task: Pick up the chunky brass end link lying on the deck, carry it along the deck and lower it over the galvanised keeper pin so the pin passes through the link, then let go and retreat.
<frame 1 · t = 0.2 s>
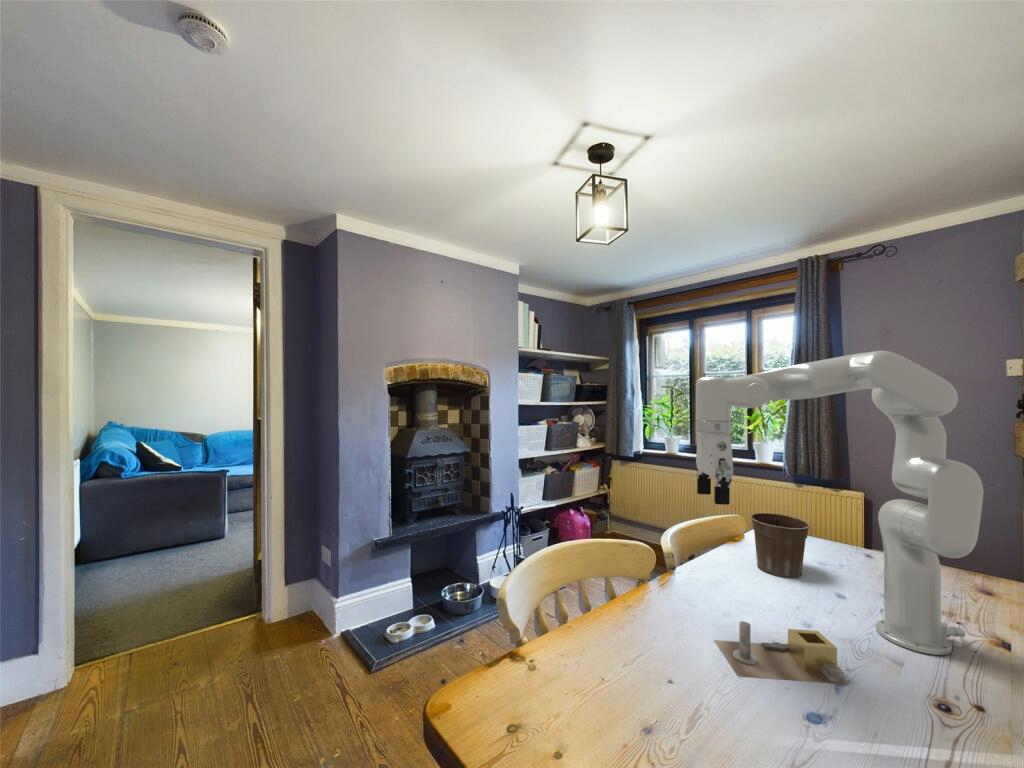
hand: (712, 498, 101), 31 cm above the table, fingers open, 9 cm apart
plant pot: (779, 571, 134), on the table
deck: (775, 666, 86), on the table
end link: (811, 662, 86), point 1 cm above the table, touching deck
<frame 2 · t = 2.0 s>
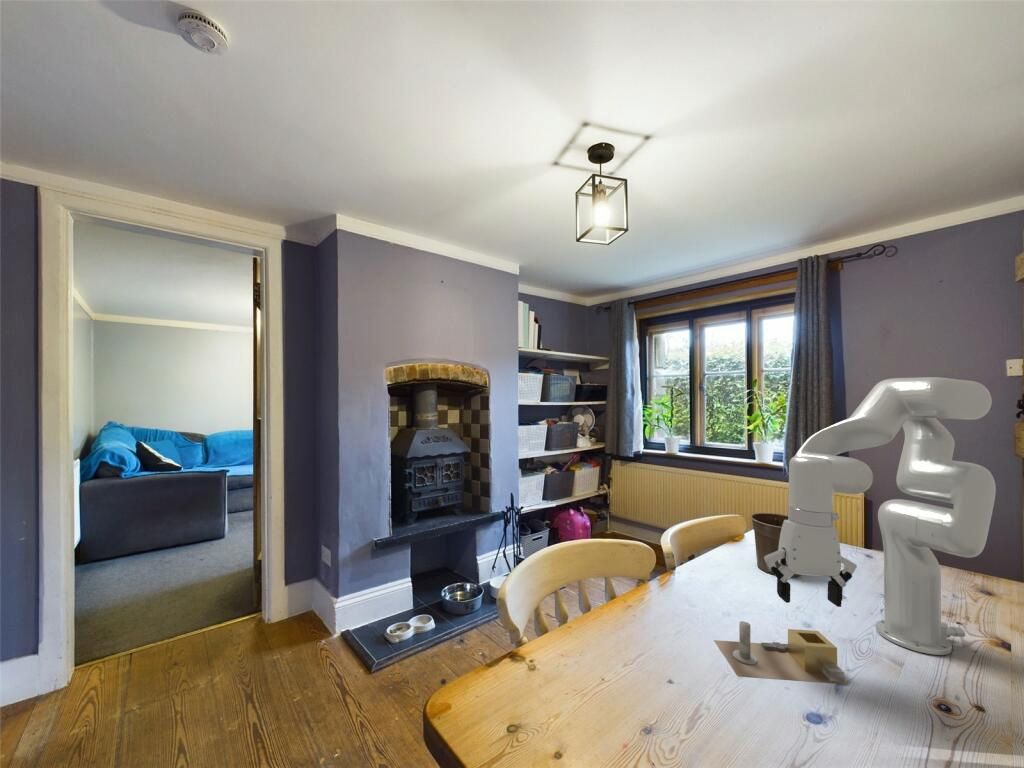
hand: (809, 601, 86), 14 cm above the table, fingers open, 9 cm apart
nothing on the table moved.
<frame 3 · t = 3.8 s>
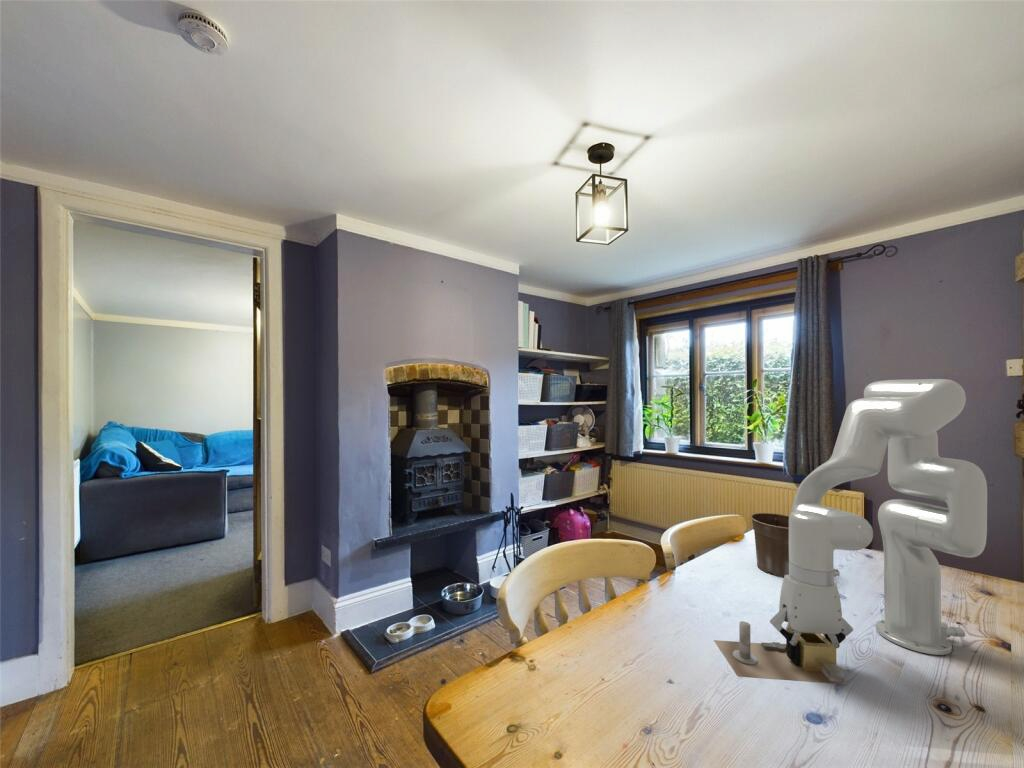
hand: (810, 662, 85), 1 cm above the table, fingers closed on end link, 6 cm apart
end link: (810, 662, 86), point 1 cm above the table, touching gripper
everything else where it was.
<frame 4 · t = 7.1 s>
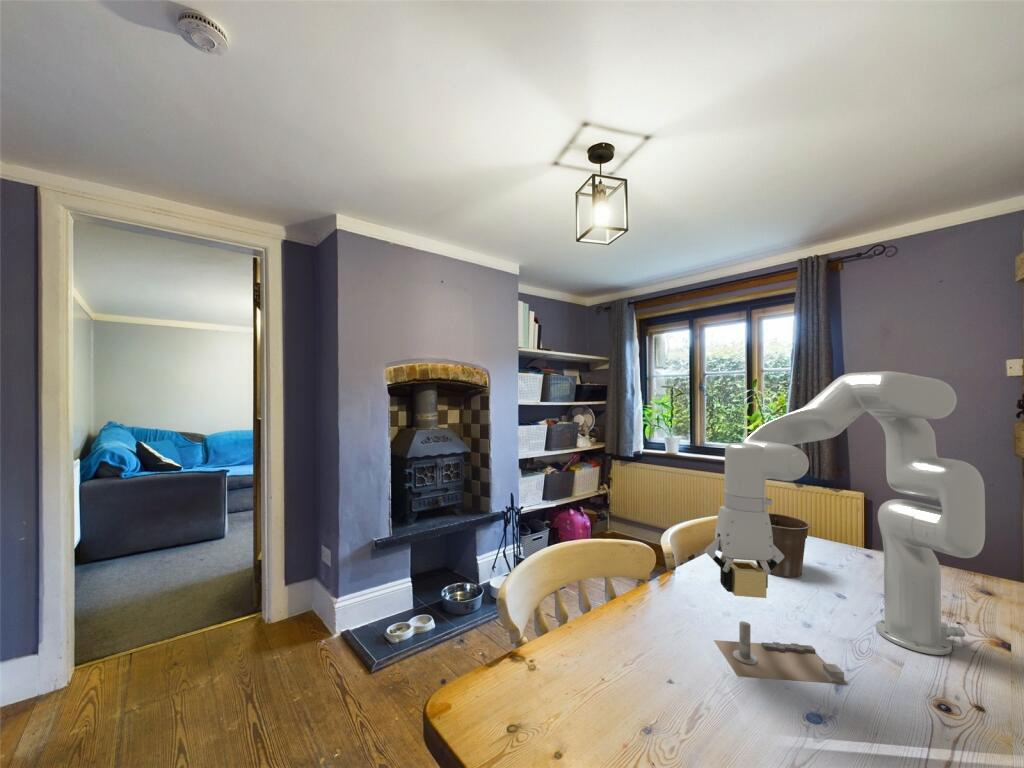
hand: (743, 589, 87), 15 cm above the table, fingers closed on end link, 6 cm apart
end link: (743, 590, 87), point 15 cm above the table, touching gripper
everything else where it was.
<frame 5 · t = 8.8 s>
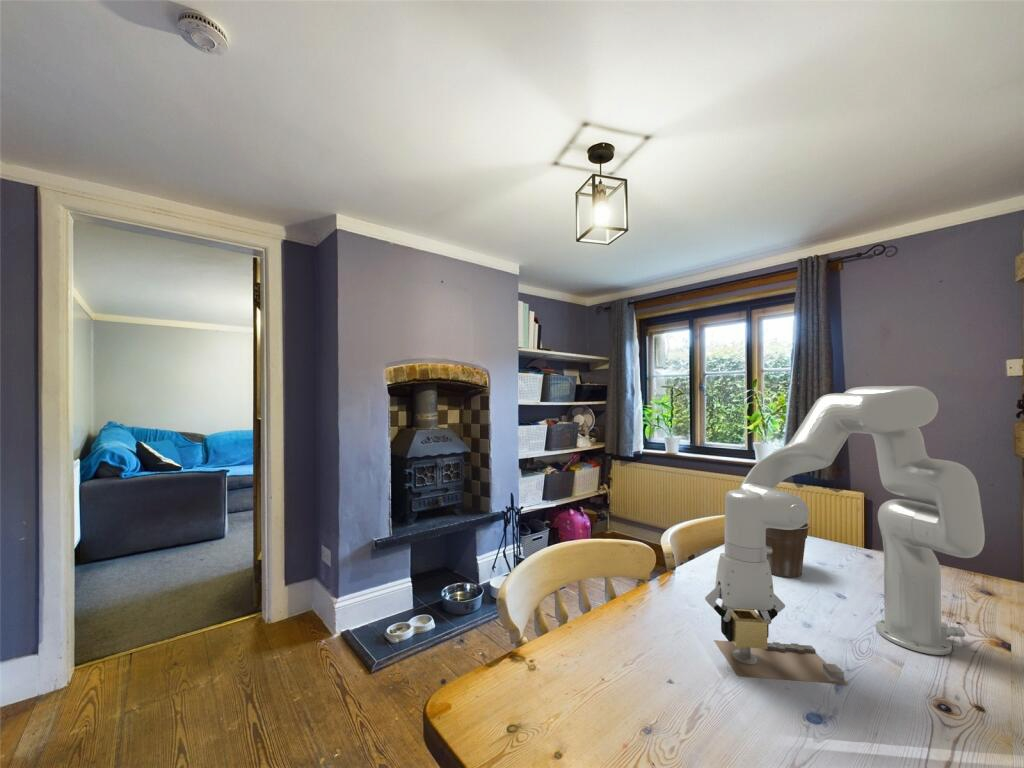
hand: (744, 638, 87), 5 cm above the table, fingers closed on end link, 6 cm apart
end link: (744, 639, 87), point 5 cm above the table, touching gripper
everything else where it was.
when the fingers open (2 cm above the table, at t = 10.3 s): end link stays where it is, resting on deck.
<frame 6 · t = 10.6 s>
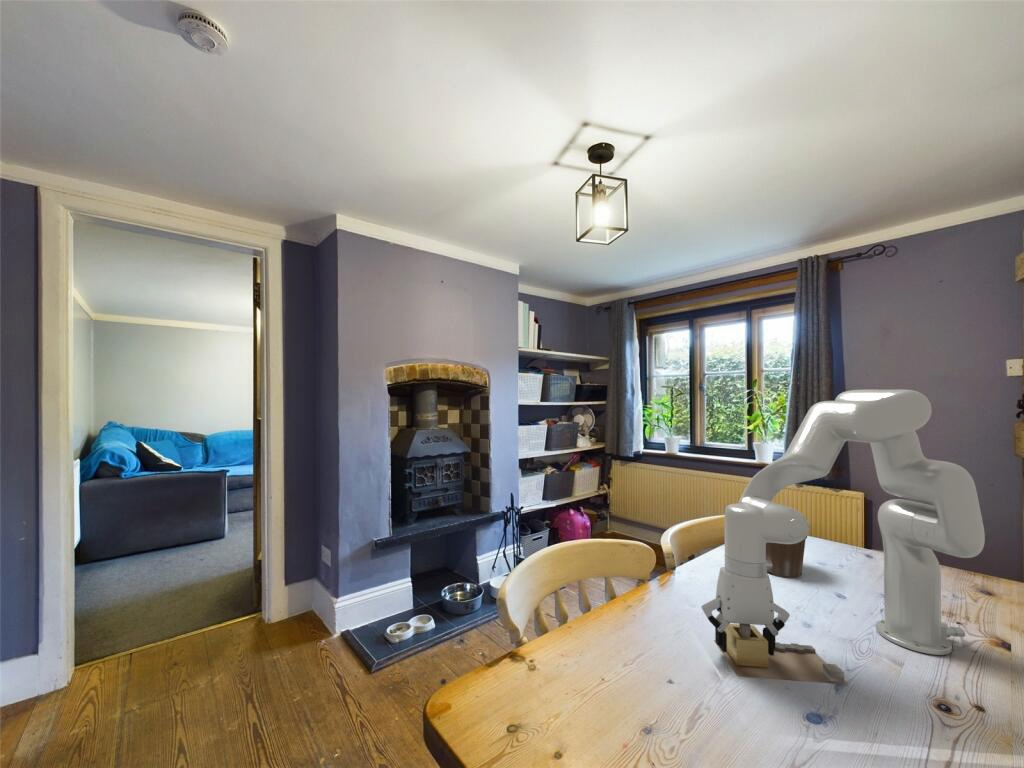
hand: (744, 649, 87), 3 cm above the table, fingers open, 8 cm apart
end link: (745, 656, 87), point 2 cm above the table, touching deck
everything else where it was.
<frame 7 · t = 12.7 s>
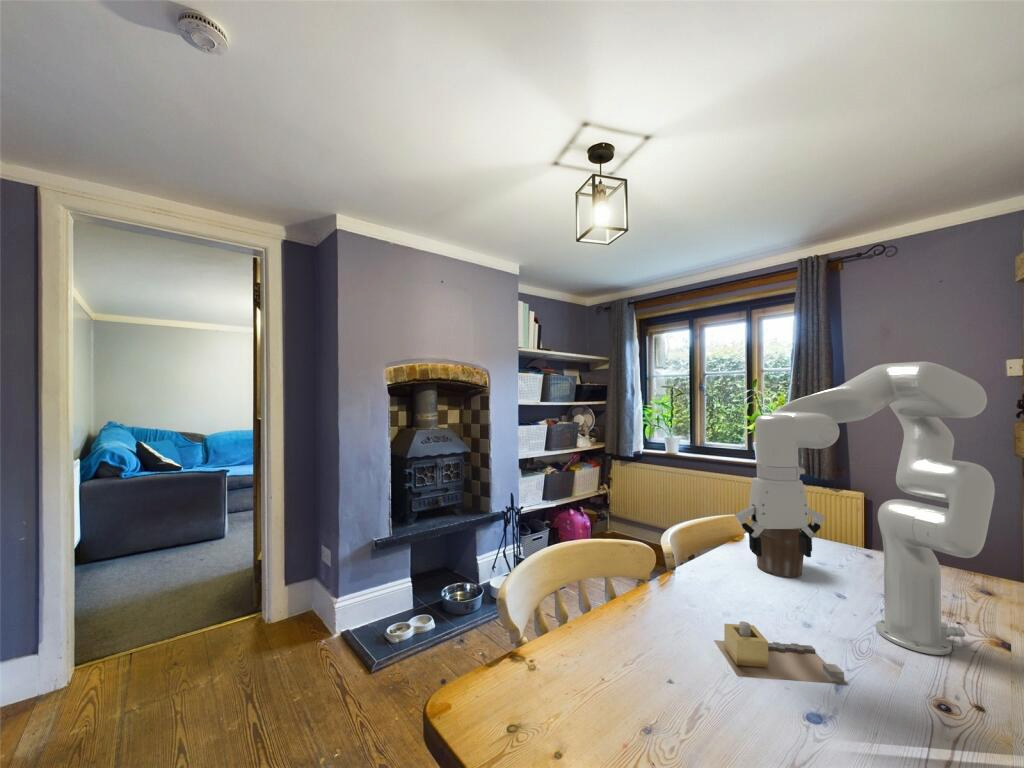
hand: (780, 554, 88), 22 cm above the table, fingers open, 9 cm apart
nothing on the table moved.
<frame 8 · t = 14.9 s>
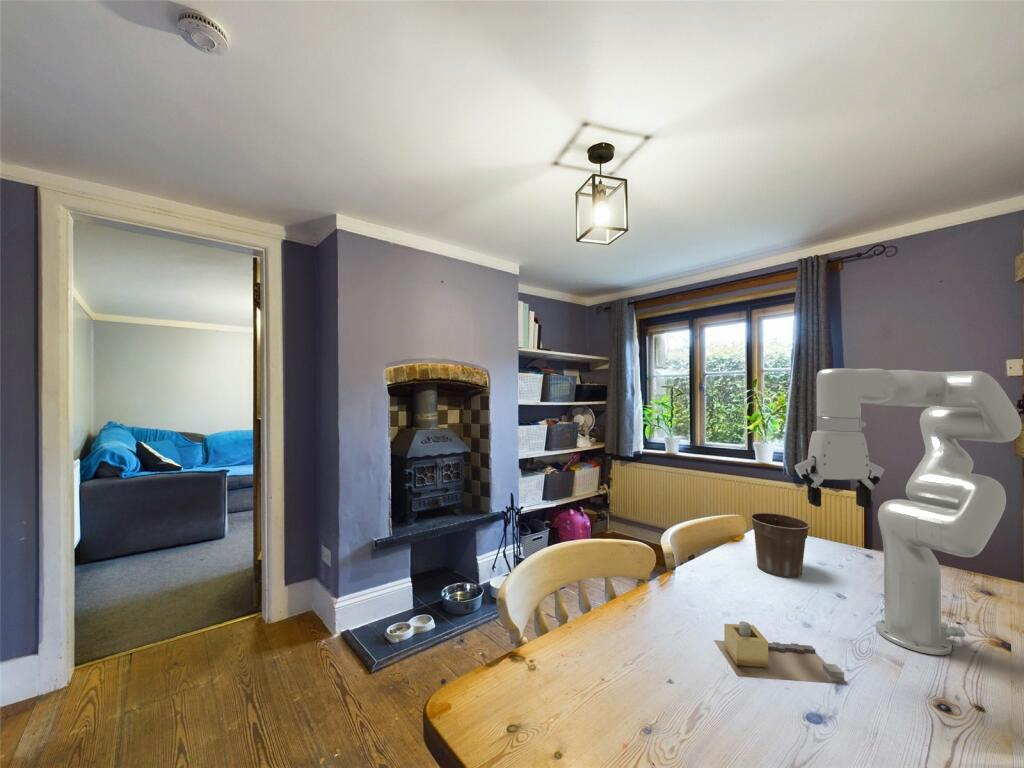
hand: (838, 506, 90), 32 cm above the table, fingers open, 9 cm apart
nothing on the table moved.
at the end: end link 0.2 cm from the target spot on the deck, point 1.6 cm above the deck's base; end link tilted 0°; the gripper is holding nothing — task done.
